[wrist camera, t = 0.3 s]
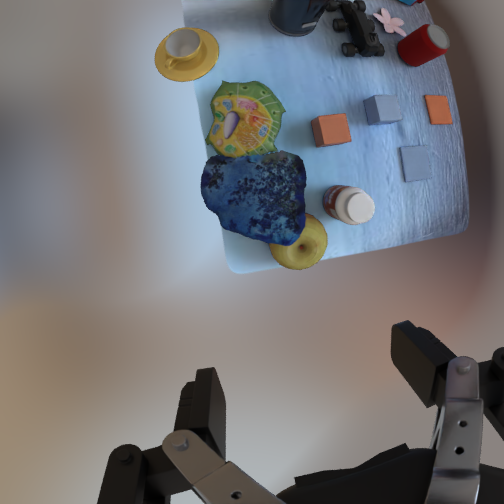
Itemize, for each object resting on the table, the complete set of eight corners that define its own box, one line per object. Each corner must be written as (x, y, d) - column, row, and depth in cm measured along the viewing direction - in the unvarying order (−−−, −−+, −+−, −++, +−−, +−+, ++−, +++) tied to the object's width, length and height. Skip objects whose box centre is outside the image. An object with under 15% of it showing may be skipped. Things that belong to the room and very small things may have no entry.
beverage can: (425, 63, 47) (457, 48, 35) (407, 71, 47) (439, 55, 36) (409, 38, 45) (438, 19, 34) (390, 44, 46) (418, 24, 34)
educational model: (287, 90, 48) (291, 81, 42) (275, 175, 51) (278, 175, 46) (217, 81, 47) (213, 72, 42) (203, 166, 51) (198, 165, 46)
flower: (393, 10, 45) (396, 6, 43) (414, 42, 46) (418, 39, 44) (361, 6, 43) (364, 2, 42) (383, 40, 44) (387, 37, 43)
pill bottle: (339, 178, 52) (364, 179, 42) (359, 203, 54) (386, 210, 43) (315, 200, 53) (335, 205, 42) (335, 225, 54) (359, 236, 44)
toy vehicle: (344, 61, 47) (361, 44, 38) (322, 2, 43) (334, -20, 35) (379, 60, 47) (399, 46, 38) (357, 3, 43) (372, -16, 35)
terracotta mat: (424, 95, 49) (425, 95, 48) (444, 96, 49) (446, 96, 48) (430, 124, 50) (432, 124, 50) (451, 124, 50) (452, 123, 50)
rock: (306, 150, 43) (306, 154, 45) (199, 152, 46) (203, 155, 48) (305, 247, 44) (305, 246, 46) (196, 243, 47) (200, 242, 49)
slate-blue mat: (399, 147, 51) (400, 147, 51) (425, 145, 52) (426, 145, 51) (404, 182, 53) (406, 182, 53) (430, 178, 53) (432, 178, 53)
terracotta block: (310, 121, 50) (318, 116, 45) (336, 118, 50) (345, 113, 45) (316, 147, 51) (324, 144, 46) (341, 144, 51) (351, 141, 46)
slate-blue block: (363, 100, 49) (374, 95, 44) (384, 99, 49) (396, 94, 44) (368, 125, 50) (380, 121, 45) (390, 123, 50) (402, 120, 45)
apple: (285, 196, 51) (295, 212, 44) (329, 221, 54) (344, 240, 46) (256, 242, 54) (261, 264, 47) (301, 263, 57) (311, 287, 50)
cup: (180, 20, 43) (176, 7, 38) (232, 45, 45) (231, 32, 40) (142, 66, 45) (134, 56, 40) (193, 93, 47) (189, 84, 42)
